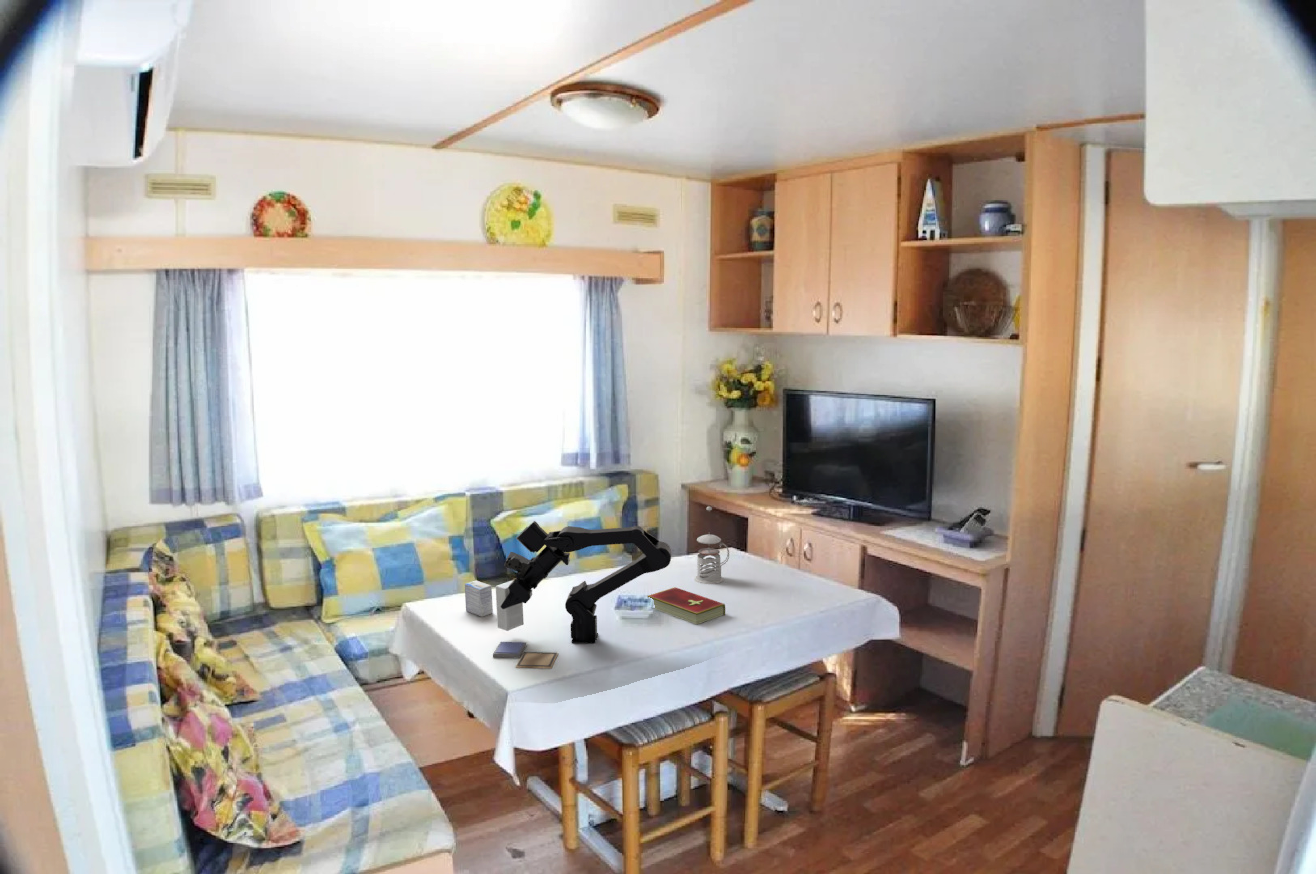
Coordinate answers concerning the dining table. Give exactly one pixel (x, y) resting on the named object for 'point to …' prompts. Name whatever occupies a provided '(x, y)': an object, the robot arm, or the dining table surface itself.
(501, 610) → the skincare box
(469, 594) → the medicine box
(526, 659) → the marked board
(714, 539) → the french press
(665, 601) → the hardcover book
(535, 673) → the dining table surface
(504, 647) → the ink pad
